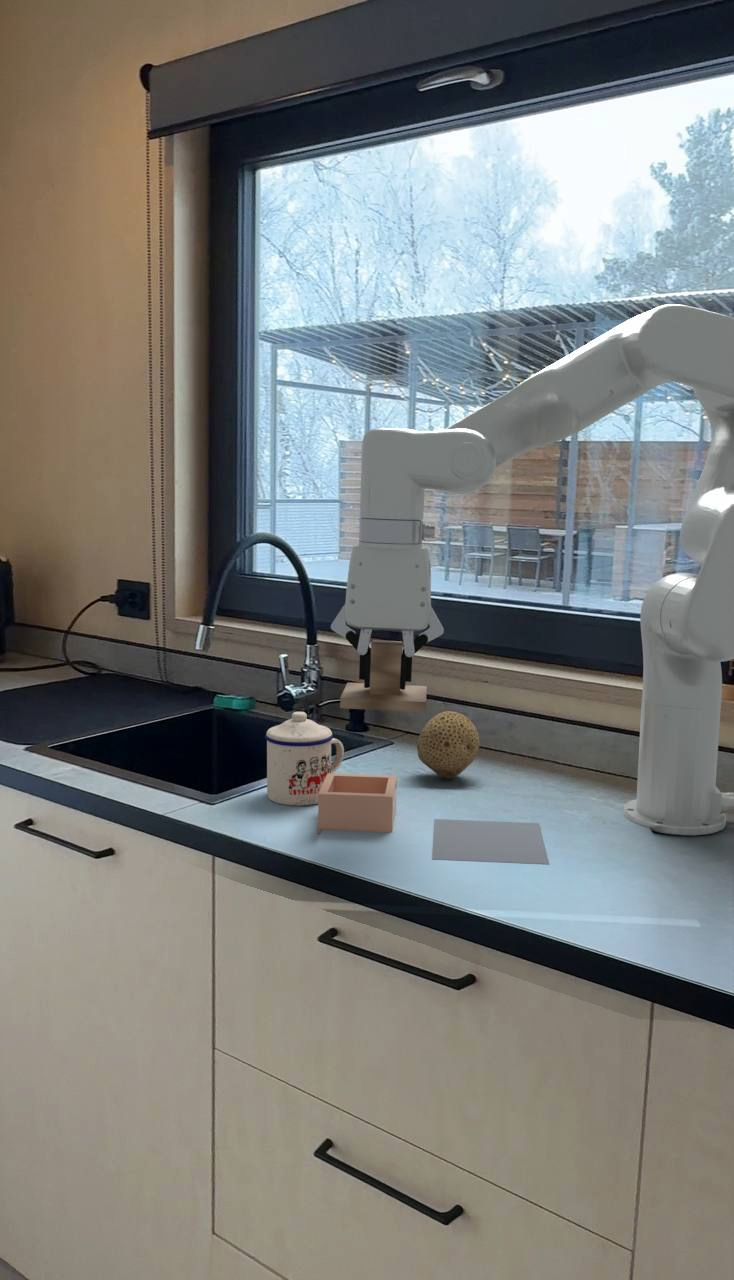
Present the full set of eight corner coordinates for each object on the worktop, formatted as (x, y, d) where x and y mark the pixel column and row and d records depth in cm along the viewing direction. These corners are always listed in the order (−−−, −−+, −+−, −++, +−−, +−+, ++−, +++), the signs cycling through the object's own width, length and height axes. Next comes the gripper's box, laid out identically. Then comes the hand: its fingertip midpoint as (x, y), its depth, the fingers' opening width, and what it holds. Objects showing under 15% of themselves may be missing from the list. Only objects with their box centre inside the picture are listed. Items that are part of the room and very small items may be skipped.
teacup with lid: (291, 811, 132) (291, 723, 131) (252, 794, 139) (252, 711, 138) (362, 794, 140) (363, 711, 138) (322, 779, 147) (322, 700, 145)
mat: (538, 827, 127) (539, 823, 127) (549, 869, 113) (549, 864, 113) (434, 823, 128) (434, 819, 128) (431, 864, 115) (432, 859, 114)
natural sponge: (481, 788, 143) (483, 719, 142) (417, 787, 144) (419, 718, 142) (475, 771, 152) (477, 705, 151) (415, 769, 152) (417, 704, 151)
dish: (396, 813, 132) (396, 775, 131) (392, 836, 123) (392, 796, 123) (327, 810, 133) (327, 773, 132) (318, 833, 124) (318, 793, 123)
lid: (426, 695, 129) (428, 638, 127) (425, 712, 119) (428, 651, 118) (347, 691, 129) (348, 635, 128) (340, 708, 119) (341, 647, 118)
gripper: (460, 536, 124) (453, 684, 127) (324, 530, 125) (320, 678, 128) (461, 538, 117) (454, 696, 119) (317, 533, 118) (313, 689, 120)
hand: (385, 685), depth 124 cm, fingers closed on lid, 3 cm apart
